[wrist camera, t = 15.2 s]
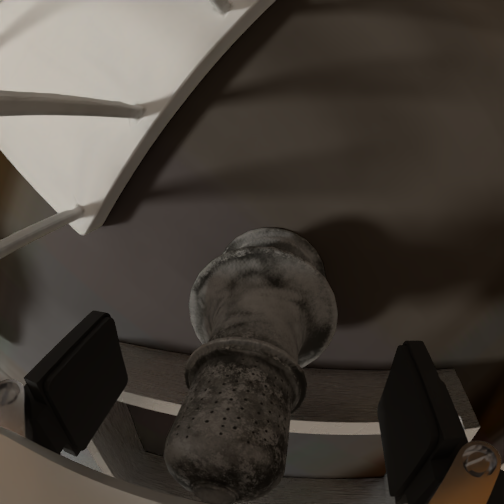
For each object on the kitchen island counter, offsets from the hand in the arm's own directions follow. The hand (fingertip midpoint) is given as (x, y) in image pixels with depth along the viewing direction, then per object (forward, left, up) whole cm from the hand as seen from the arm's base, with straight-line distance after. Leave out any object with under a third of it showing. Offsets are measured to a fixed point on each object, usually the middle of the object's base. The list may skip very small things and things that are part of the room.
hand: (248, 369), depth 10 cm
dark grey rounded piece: (0, 0, -7) cm, 7 cm away
